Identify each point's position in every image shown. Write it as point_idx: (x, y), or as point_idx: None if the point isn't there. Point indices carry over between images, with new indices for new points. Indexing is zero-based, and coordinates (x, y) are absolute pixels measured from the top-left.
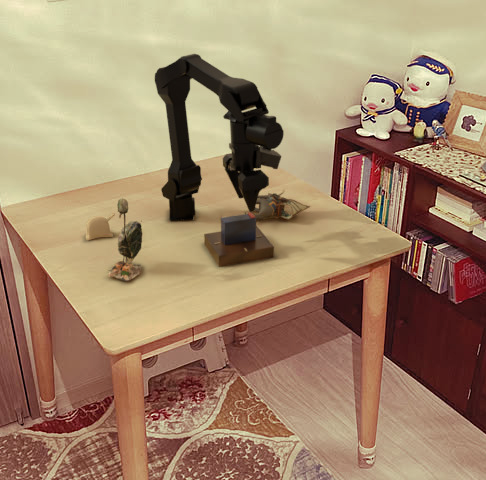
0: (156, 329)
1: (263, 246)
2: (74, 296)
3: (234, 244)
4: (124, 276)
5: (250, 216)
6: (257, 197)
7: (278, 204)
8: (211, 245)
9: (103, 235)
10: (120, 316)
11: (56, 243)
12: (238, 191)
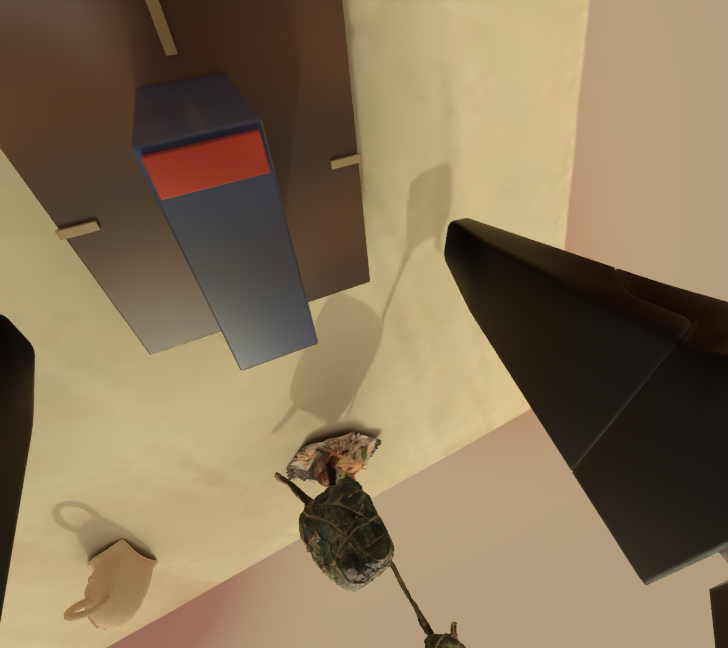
0: None
1: (320, 29)
2: (395, 481)
3: None
4: (369, 452)
5: (246, 178)
6: (647, 281)
7: None
8: None
9: (135, 556)
10: (481, 410)
11: (176, 584)
12: (11, 431)
